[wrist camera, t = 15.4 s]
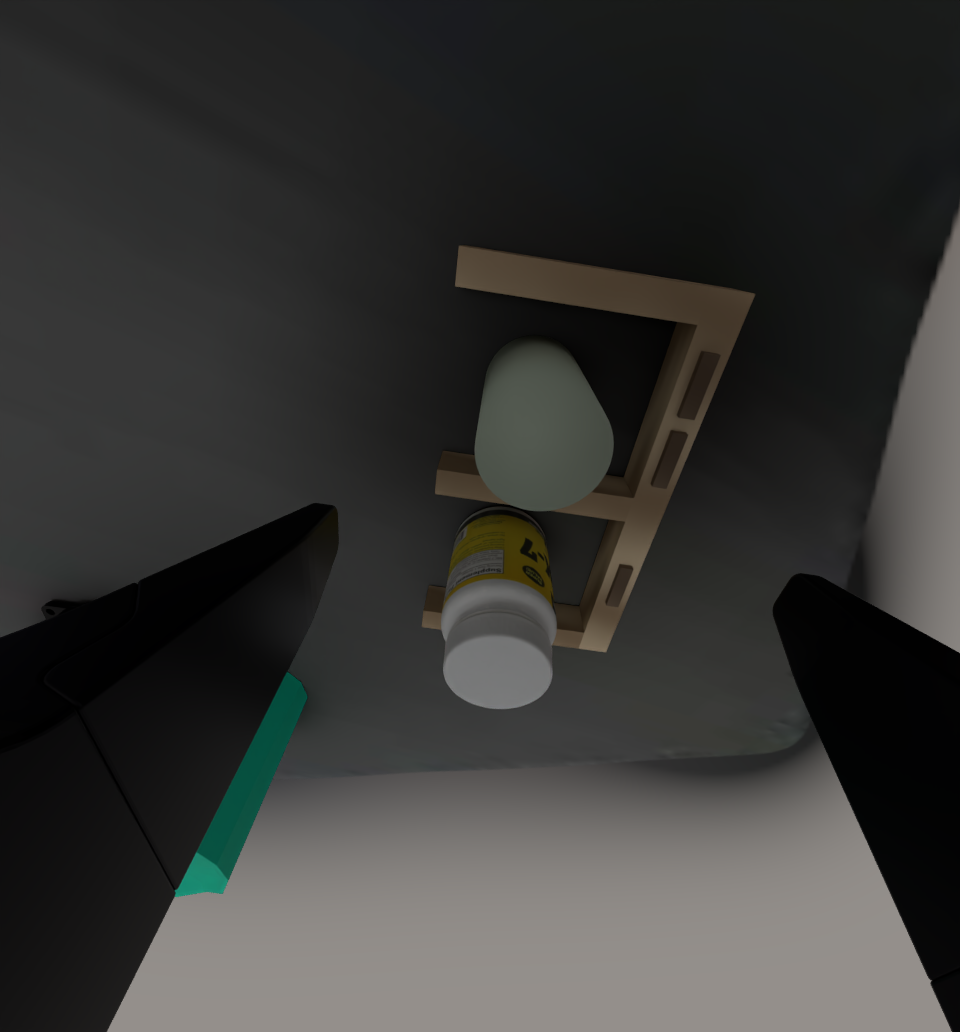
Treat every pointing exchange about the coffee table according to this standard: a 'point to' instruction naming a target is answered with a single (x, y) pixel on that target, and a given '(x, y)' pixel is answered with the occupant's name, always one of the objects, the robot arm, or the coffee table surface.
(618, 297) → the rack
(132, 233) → the coffee table surface
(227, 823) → the candle
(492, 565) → the supplement bottle
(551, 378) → the post
